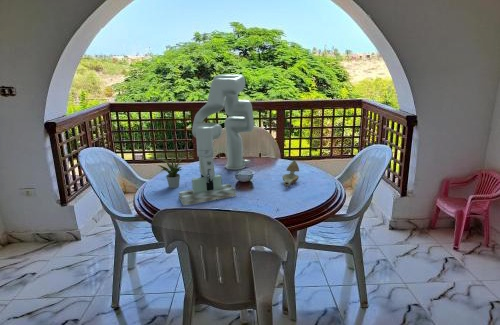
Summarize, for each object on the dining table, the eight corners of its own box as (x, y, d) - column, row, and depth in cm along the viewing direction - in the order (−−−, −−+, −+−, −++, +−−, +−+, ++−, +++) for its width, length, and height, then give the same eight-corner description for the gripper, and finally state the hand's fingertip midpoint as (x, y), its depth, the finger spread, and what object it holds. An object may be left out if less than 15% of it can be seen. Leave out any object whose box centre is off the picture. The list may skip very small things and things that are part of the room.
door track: (229, 189, 173) (229, 183, 172) (236, 196, 164) (236, 189, 163) (178, 197, 163) (178, 191, 162) (183, 205, 155) (183, 198, 154)
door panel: (220, 191, 167) (219, 174, 165) (222, 193, 165) (221, 176, 163) (193, 196, 162) (191, 178, 160) (194, 198, 160) (193, 180, 157)
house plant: (179, 179, 189) (177, 151, 185) (194, 185, 180) (192, 155, 175) (156, 186, 180) (153, 156, 175) (170, 192, 170) (168, 161, 166)
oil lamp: (301, 177, 190) (302, 160, 187) (294, 190, 170) (294, 171, 168) (286, 176, 192) (286, 159, 190) (277, 189, 173) (277, 170, 170)
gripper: (218, 155, 151) (220, 191, 156) (207, 147, 167) (209, 180, 171) (202, 157, 149) (204, 194, 153) (192, 149, 164) (195, 182, 169)
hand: (207, 186), depth 162 cm, fingers open, 9 cm apart
